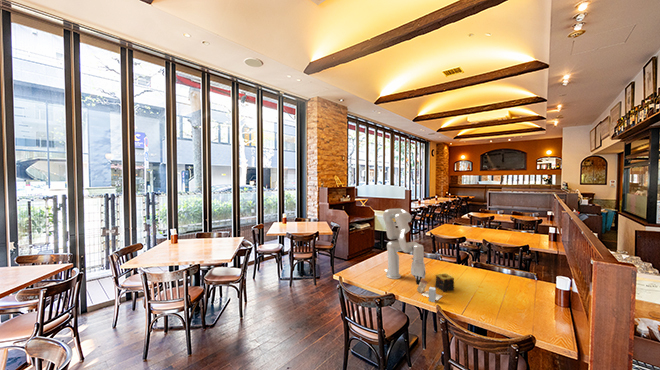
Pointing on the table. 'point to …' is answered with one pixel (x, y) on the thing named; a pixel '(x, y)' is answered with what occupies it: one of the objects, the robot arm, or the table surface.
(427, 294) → the mat
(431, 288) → the bluegrey block
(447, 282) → the candle
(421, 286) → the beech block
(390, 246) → the robot arm
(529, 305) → the table surface
